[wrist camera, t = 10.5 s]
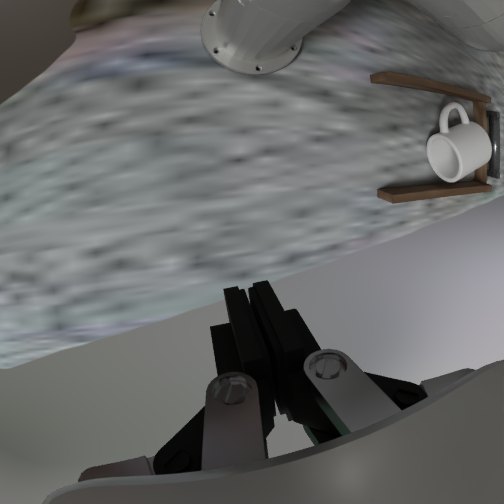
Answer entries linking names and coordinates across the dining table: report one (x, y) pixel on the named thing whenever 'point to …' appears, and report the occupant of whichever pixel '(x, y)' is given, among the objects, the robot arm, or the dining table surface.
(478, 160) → the mug
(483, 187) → the frame
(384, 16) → the dining table surface
